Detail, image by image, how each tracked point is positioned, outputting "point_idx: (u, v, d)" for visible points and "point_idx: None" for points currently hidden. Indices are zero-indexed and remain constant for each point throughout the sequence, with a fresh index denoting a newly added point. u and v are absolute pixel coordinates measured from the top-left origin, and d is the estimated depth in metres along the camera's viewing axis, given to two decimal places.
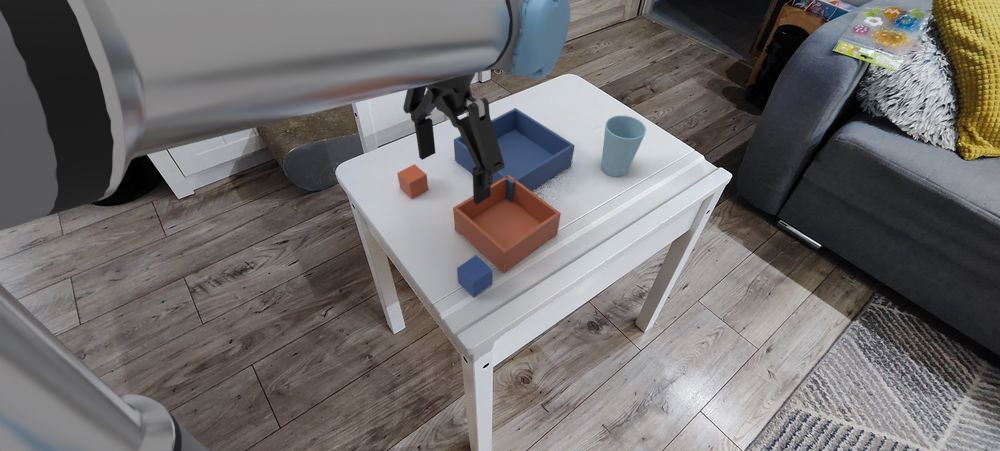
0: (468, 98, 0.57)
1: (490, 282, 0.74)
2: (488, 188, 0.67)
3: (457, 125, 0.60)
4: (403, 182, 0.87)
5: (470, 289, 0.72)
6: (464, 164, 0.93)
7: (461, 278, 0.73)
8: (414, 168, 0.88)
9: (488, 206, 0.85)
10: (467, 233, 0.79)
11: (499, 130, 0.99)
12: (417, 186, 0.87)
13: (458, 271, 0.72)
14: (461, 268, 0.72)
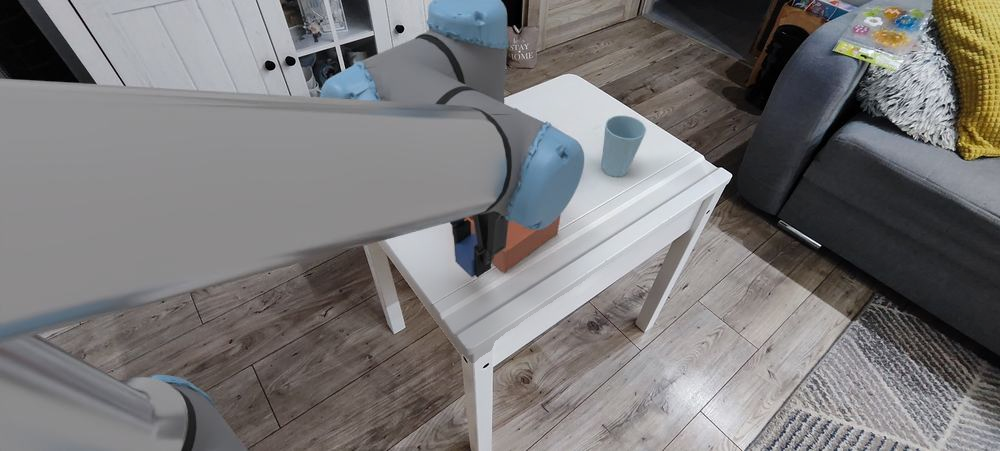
0: None
1: None
2: None
3: None
4: None
5: (468, 268, 0.68)
6: None
7: (459, 257, 0.68)
8: None
9: None
10: None
11: None
12: None
13: (455, 249, 0.68)
14: (459, 246, 0.67)
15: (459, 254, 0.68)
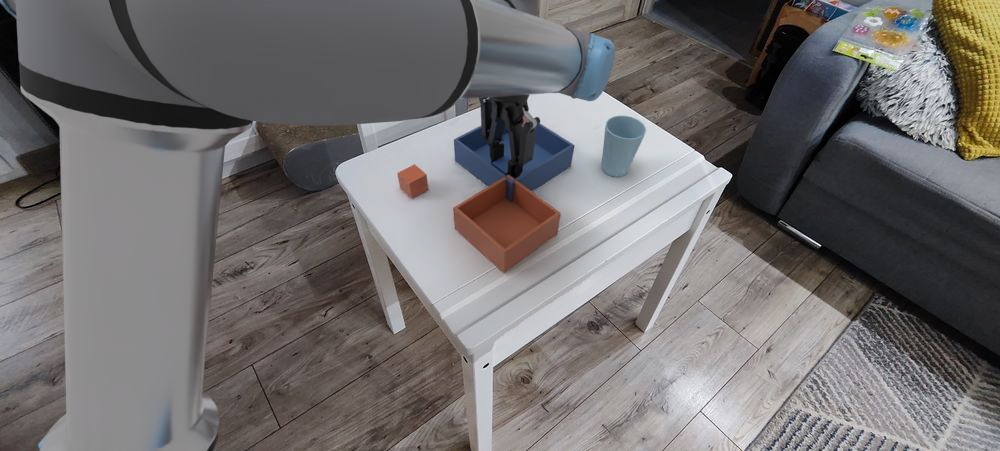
0: (526, 114, 0.76)
1: None
2: (518, 176, 0.89)
3: (509, 130, 0.79)
4: (403, 182, 0.87)
5: None
6: (464, 164, 0.93)
7: None
8: (414, 168, 0.88)
9: (488, 206, 0.85)
10: (467, 233, 0.79)
11: None
12: (417, 186, 0.87)
13: None
14: (495, 163, 0.88)
15: None
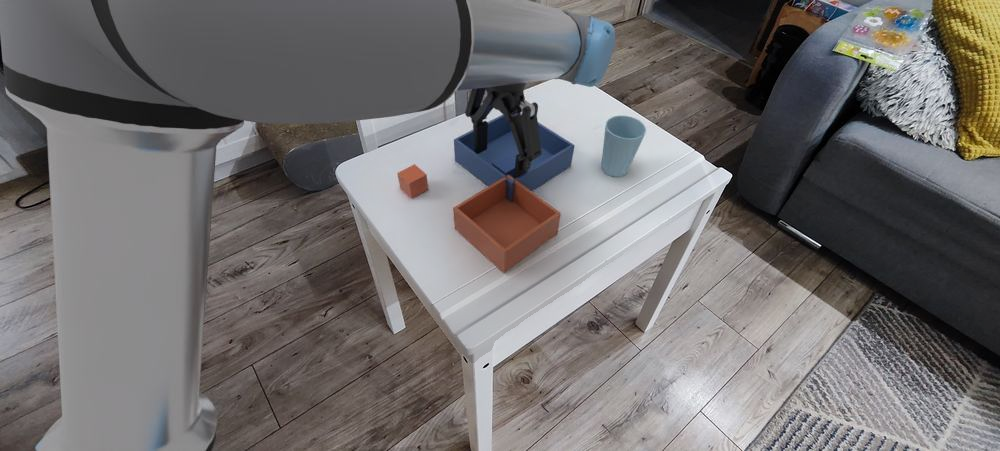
0: (522, 101, 0.74)
1: None
2: (525, 171, 0.85)
3: (509, 121, 0.77)
4: (403, 182, 0.87)
5: None
6: (464, 164, 0.93)
7: None
8: (414, 168, 0.88)
9: (488, 206, 0.85)
10: (467, 233, 0.79)
11: (499, 130, 0.99)
12: (417, 186, 0.87)
13: None
14: (495, 163, 0.88)
15: None
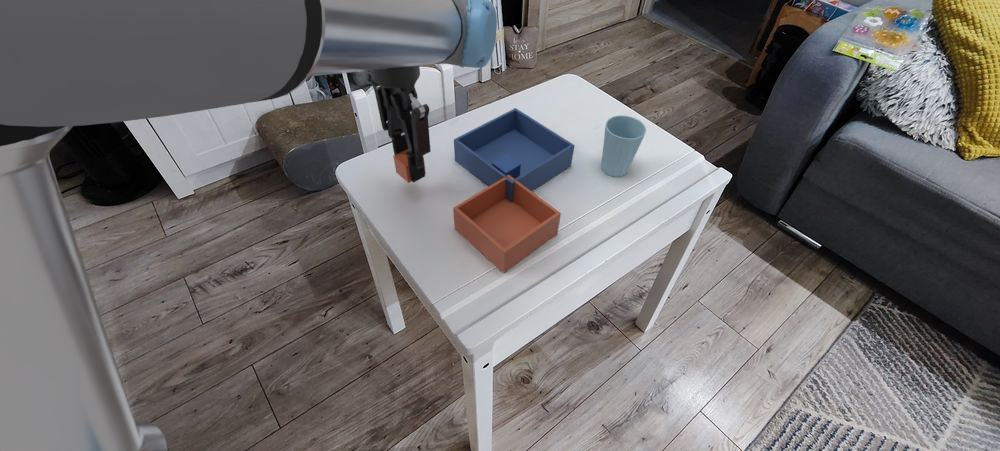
0: (414, 100, 0.71)
1: None
2: (422, 169, 0.84)
3: (400, 119, 0.74)
4: (399, 166, 0.83)
5: None
6: (464, 164, 0.93)
7: None
8: None
9: (488, 206, 0.85)
10: (467, 233, 0.79)
11: (499, 130, 0.99)
12: None
13: None
14: (495, 163, 0.88)
15: None
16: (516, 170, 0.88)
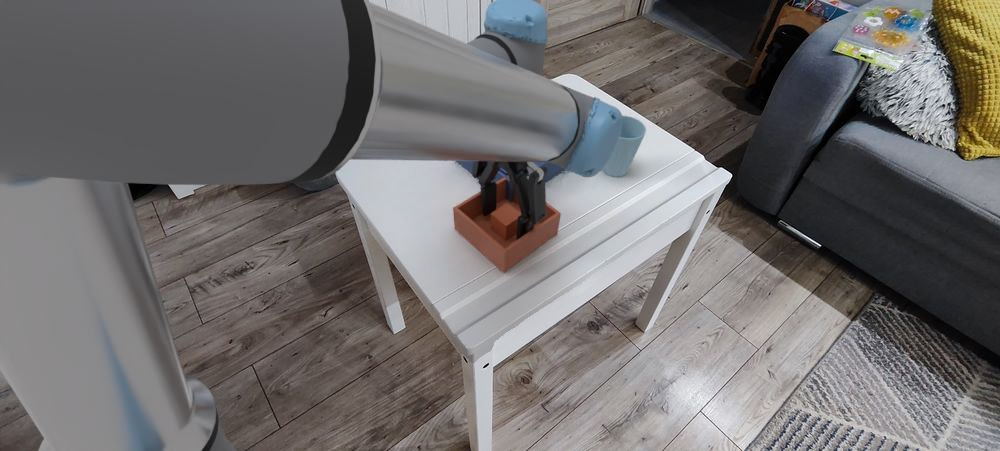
0: (530, 164, 0.66)
1: None
2: None
3: (514, 183, 0.69)
4: (497, 224, 0.79)
5: None
6: (464, 164, 0.93)
7: None
8: (508, 207, 0.80)
9: None
10: (467, 233, 0.79)
11: None
12: (512, 228, 0.79)
13: None
14: None
15: None
16: None
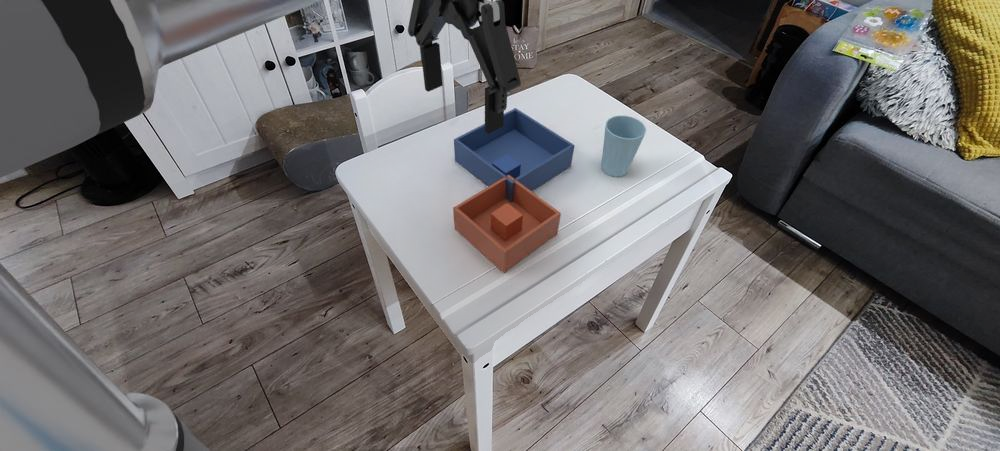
0: (481, 1, 0.51)
1: None
2: (501, 115, 0.61)
3: (468, 36, 0.54)
4: (497, 224, 0.79)
5: None
6: (464, 164, 0.93)
7: None
8: (508, 207, 0.80)
9: (488, 206, 0.85)
10: (467, 233, 0.79)
11: (499, 130, 0.99)
12: (512, 228, 0.79)
13: None
14: (495, 163, 0.88)
15: None
16: (516, 170, 0.88)
